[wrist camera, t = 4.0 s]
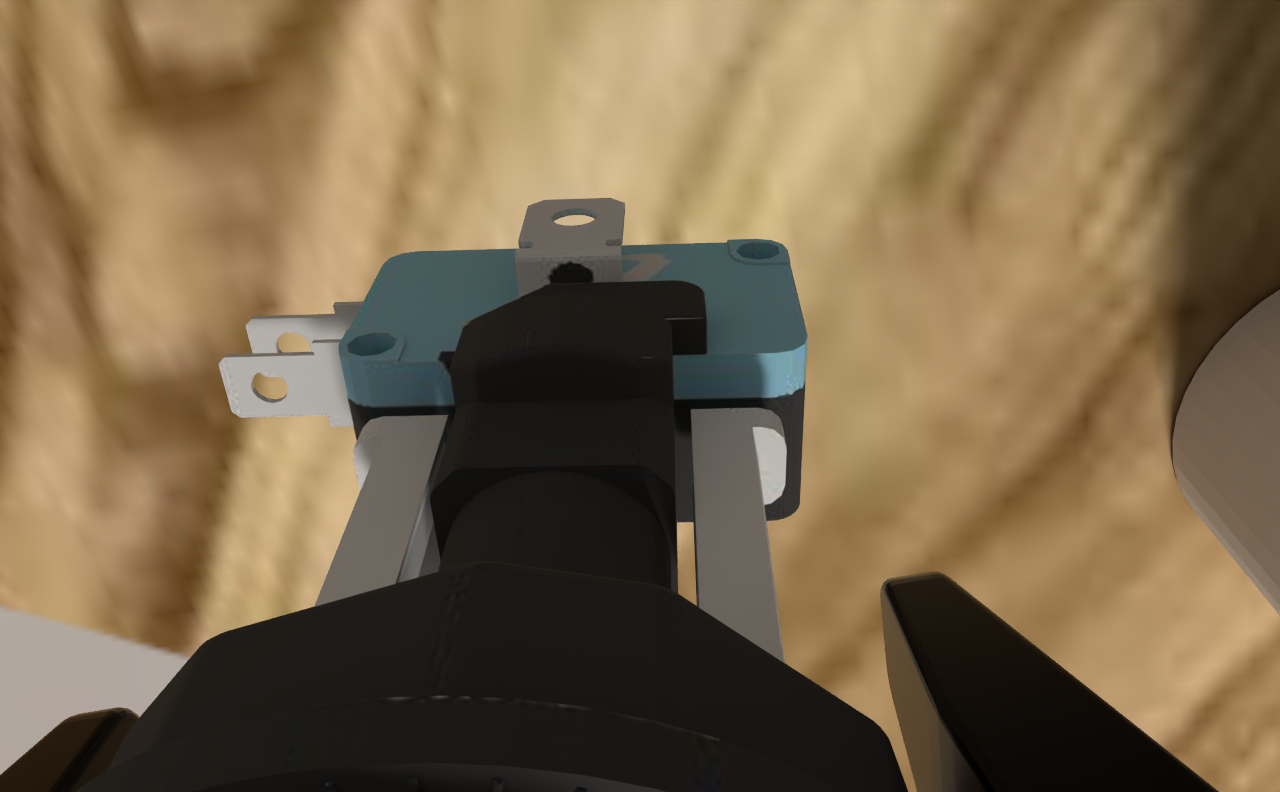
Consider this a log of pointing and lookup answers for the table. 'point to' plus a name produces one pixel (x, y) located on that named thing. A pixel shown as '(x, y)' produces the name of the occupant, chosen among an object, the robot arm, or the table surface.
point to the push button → (532, 539)
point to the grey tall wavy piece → (1237, 445)
